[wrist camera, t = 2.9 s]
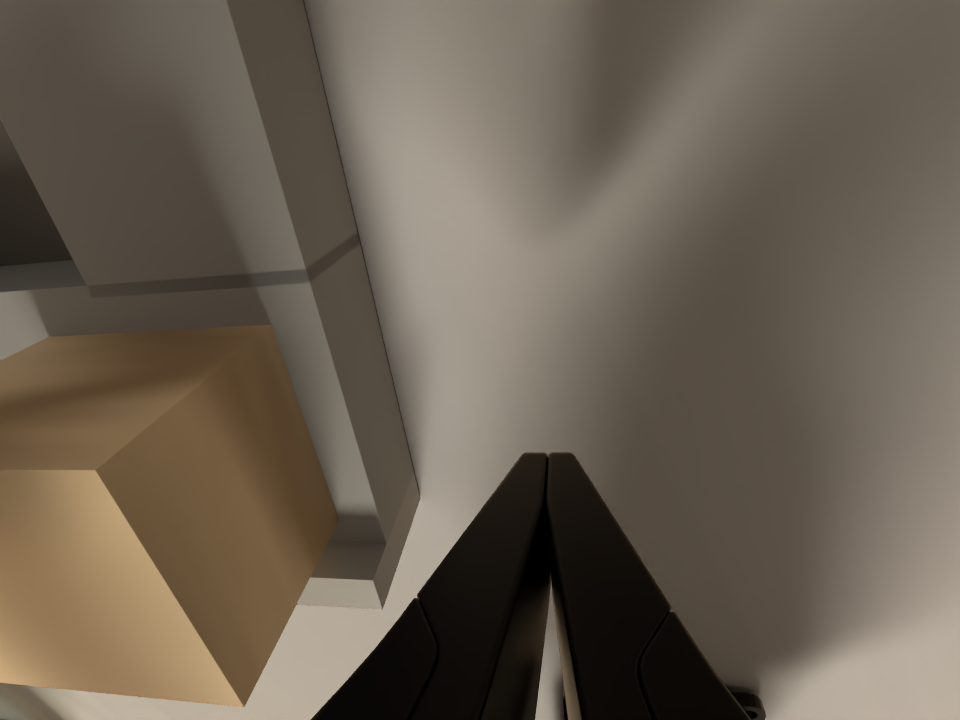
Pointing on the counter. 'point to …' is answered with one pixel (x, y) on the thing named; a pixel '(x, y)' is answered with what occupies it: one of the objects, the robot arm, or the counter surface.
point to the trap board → (203, 225)
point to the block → (154, 512)
